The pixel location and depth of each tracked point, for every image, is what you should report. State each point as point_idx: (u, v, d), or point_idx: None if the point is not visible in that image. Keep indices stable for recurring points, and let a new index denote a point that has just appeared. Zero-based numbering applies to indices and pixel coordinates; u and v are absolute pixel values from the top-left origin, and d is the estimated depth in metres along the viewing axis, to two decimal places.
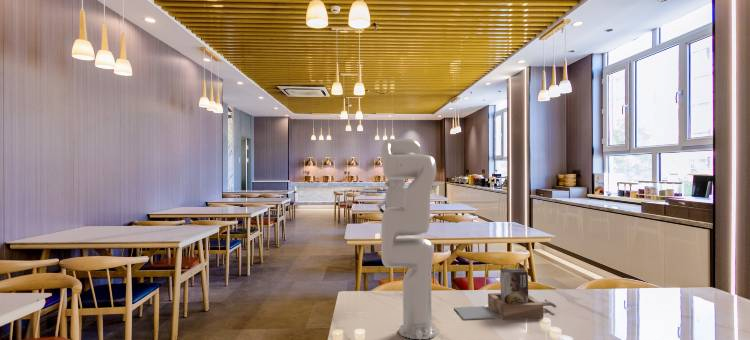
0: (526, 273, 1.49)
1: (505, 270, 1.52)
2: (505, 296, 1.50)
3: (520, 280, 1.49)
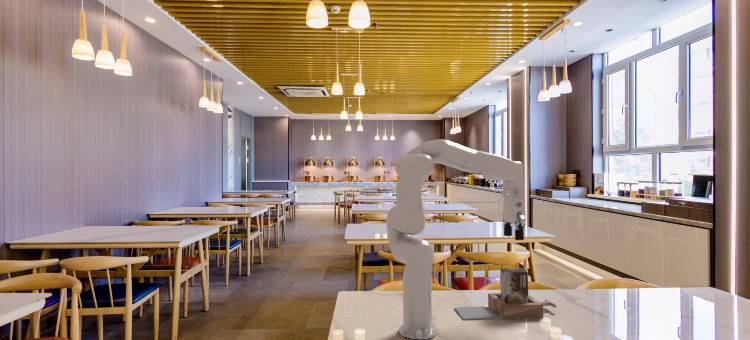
0: (526, 273, 1.49)
1: (505, 270, 1.52)
2: (505, 296, 1.50)
3: (520, 280, 1.49)
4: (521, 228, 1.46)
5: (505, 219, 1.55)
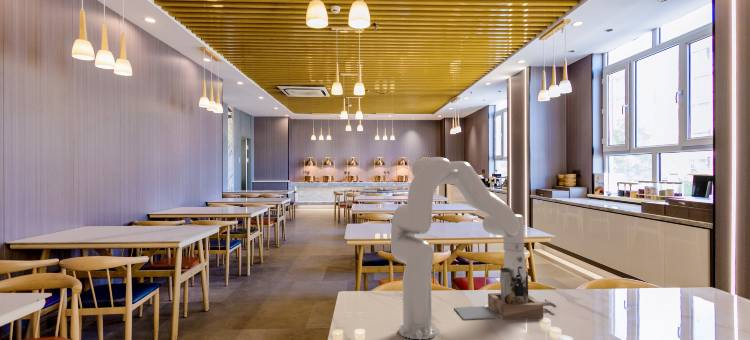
0: (526, 273, 1.49)
1: (505, 270, 1.52)
2: (505, 296, 1.50)
3: None
4: (521, 284, 1.47)
5: None
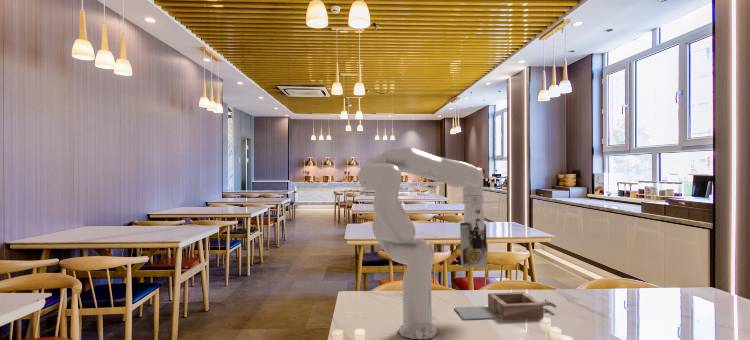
0: (484, 226, 1.47)
1: (464, 224, 1.50)
2: (463, 249, 1.48)
3: None
4: (478, 237, 1.45)
5: None
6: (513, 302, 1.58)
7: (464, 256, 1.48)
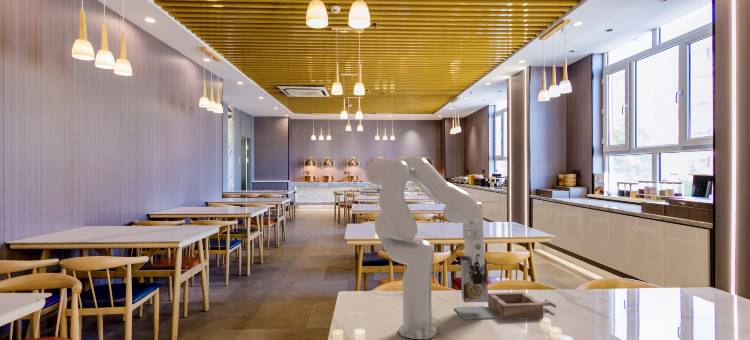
0: (485, 260, 1.47)
1: (464, 258, 1.50)
2: (464, 284, 1.48)
3: None
4: (479, 272, 1.45)
5: None
6: (513, 302, 1.58)
7: (465, 291, 1.48)
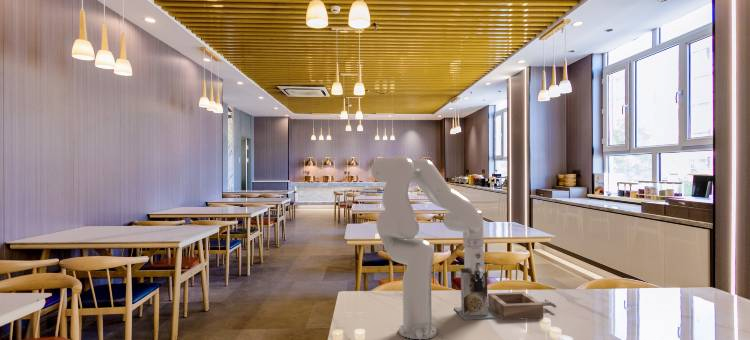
0: (485, 273, 1.47)
1: (465, 270, 1.50)
2: (464, 297, 1.48)
3: None
4: (479, 280, 1.44)
5: (466, 268, 1.53)
6: (513, 302, 1.58)
7: (465, 304, 1.47)
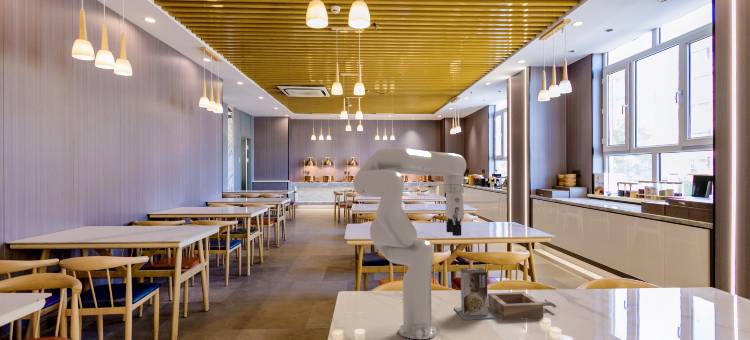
0: (485, 273, 1.47)
1: (465, 270, 1.50)
2: (464, 297, 1.48)
3: (479, 281, 1.47)
4: (458, 223, 1.46)
5: (446, 215, 1.55)
6: (513, 302, 1.58)
7: (465, 304, 1.47)
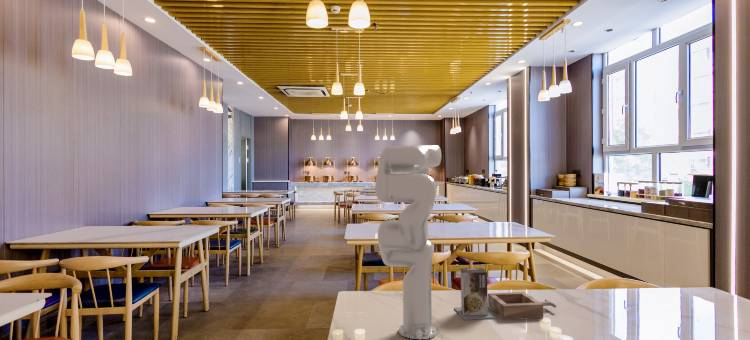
0: (485, 273, 1.47)
1: (465, 270, 1.50)
2: (464, 297, 1.48)
3: (479, 281, 1.47)
4: None
5: None
6: (513, 302, 1.58)
7: (465, 304, 1.47)
